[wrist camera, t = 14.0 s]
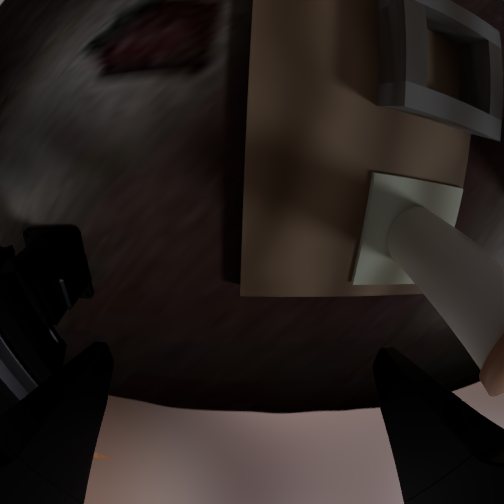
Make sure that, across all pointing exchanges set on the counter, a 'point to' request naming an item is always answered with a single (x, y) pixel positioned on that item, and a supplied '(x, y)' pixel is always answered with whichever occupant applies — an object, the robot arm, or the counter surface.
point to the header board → (357, 136)
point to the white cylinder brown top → (455, 285)
